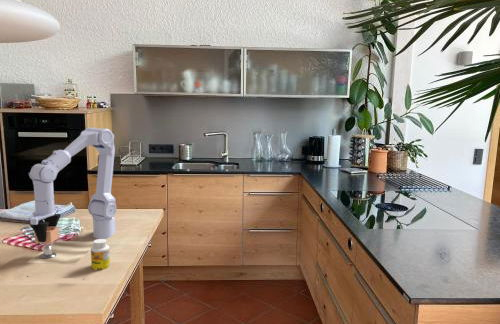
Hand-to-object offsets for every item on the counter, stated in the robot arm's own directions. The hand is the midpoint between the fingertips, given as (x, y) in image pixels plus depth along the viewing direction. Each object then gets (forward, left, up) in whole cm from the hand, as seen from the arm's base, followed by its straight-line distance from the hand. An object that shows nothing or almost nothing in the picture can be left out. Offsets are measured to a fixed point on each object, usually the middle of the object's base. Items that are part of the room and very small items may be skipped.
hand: (46, 238), depth 132 cm
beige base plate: (-4, +4, -8) cm, 10 cm away
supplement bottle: (+7, +21, -8) cm, 24 cm away
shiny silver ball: (0, 0, -8) cm, 8 cm away
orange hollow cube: (0, 0, -1) cm, 1 cm away
